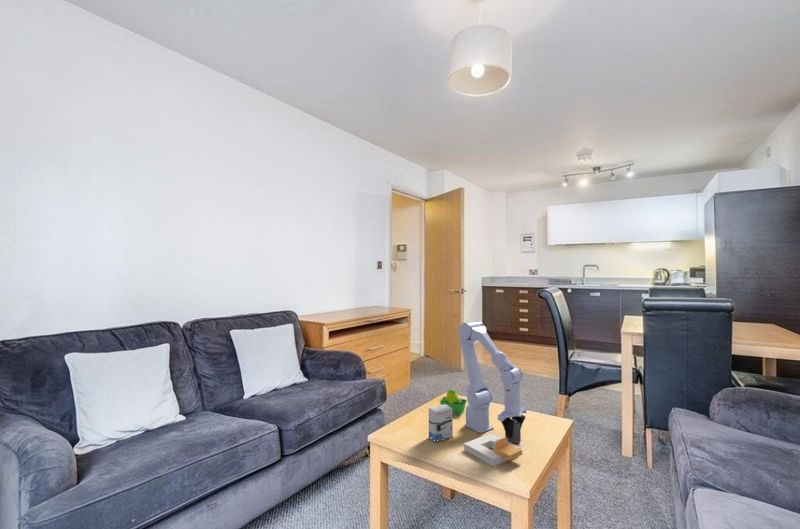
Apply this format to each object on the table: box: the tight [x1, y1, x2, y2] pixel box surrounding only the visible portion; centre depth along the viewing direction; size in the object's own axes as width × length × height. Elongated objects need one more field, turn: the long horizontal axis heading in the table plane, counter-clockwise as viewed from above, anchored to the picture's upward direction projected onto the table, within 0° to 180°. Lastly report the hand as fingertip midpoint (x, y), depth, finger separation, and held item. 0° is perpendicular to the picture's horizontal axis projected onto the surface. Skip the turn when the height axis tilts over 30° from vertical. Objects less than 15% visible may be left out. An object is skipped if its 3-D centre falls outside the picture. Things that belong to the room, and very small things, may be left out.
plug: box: [504, 418, 522, 445], centre depth 143 cm, size 4×4×8 cm
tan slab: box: [493, 437, 523, 461], centre depth 128 cm, size 7×7×4 cm
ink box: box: [428, 404, 454, 442], centre depth 147 cm, size 8×5×12 cm, turn 117°
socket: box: [463, 433, 521, 467], centre depth 134 cm, size 14×14×2 cm
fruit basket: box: [439, 388, 468, 415], centre depth 174 cm, size 11×9×11 cm
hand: (512, 435), depth 143 cm, fingers closed on plug, 4 cm apart
